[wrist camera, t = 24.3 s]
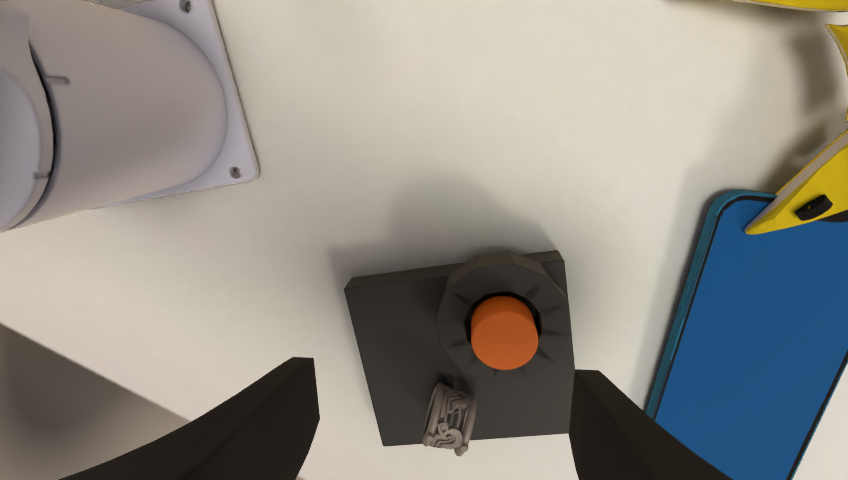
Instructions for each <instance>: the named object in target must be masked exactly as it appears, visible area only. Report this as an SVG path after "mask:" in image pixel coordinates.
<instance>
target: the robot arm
mask: <svg viewBox="0 0 848 480" xmlns="http://www.w3.org/2000/svg"><path fill="white" fill-rule="evenodd" d="M188 1H189V2H190V4H191V10H190V12H188V13H187V11H186V10H185V5H186V3H187V2H188ZM235 167H237V168H238V169H239V170H240V172H241V175H240V177H238V176H236V174H235V173H234V169H235ZM258 174H259V167H258V164H257V160H256V157H255V153H254V149H253V146H252V142H251V139H250V135H249V132H248V128H247V125H246V121H245V118H244V114H243V111H242V107H241V104H240V100H239V97H238V93H237V90H236V86H235V82H234V79H233V75H232V72H231V68H230V65H229V61H228V58H227V54H226V51H225V47H224V44H223V40H222V37H221V33H220V30H219V26H218V23H217V19H216V16H215V12H214V8H213V5H212V2H211V0H152V1H148V2H144V3H140V4H137V5H133V6H129V7H125V8H121V9H114V8H110V7H107V6H103V5H99V4H96V3H92V2H88V1H85V0H0V233H1V232H5V231H8V230H12V229H16V228H20V227H23V226H27V225H31V224H35V223H38V222H42V221H46V220H50V219H53V218H57V217H61V216H65V215H68V214H72V213H76V212H80V211H83V210H87V209H95V208H101V207H106V206H112V205H118V204H124V203H129V202H135V201H141V200H146V199H152V198H158V197H163V196H169V195H175V194H180V193H186V192H192V191H197V190H203V189H209V188H214V187H220V186H226V185H231V184H237V183H243V182H248V181H252V180H254V179H256V178H257V177H258ZM319 420H320V415H319V406H318V396H317V387H316V377H315V367H314V358H302V357H292V358H291V359H289V360H287V361H286V362H284V363H282V364H281V365H279V366H278V367H276V368H275V369H273V370H272V371H270V372H269V373H267V374H266V375H265V376H263V377H262V378H260V379H259V380H257V381H256V382H254V383H253V384H251V385H250V386H248V387H247V388H245V389H244V390H242V391H241V392H239V393H238V394H236V395H235V396H233V397H231V398H230V399H228V400H227V401H225V402H223V403H222V404H220V405H218V406H217V407H215V408H214V409H212V410H210V411H209V412H207V413H205V414H204V415H202V416H200V417H199V418H197V419H195V420H193V421H192V422H190V423H188V424H186V425H184V426H183V427H181V428H179V429H177V430H175V431H173V432H171V433H169V434H167V435H165V436H163V437H161V438H159V439H157V440H155V441H153V442H151V443H148V444H146V445H144V446H142V447H139V448H137V449H135V450H133V451H130V452H128V453H126V454H124V455H121V456H119V457H117V458H115V459H112V460H110V461H107V462H105V463H102V464H100V465H97V466H95V467H92V468H90V469H87V470H85V471H82V472H79V473H76V474H73V475H70V476H68V477H65V478H62V479H59V480H295V479H296V477H297V475H298V473H299V471H300V469H301V467H302V465H303V463H304V461H305V459H306V456H307V454H308V452H309V449H310V447H311V444H312V441H313V438H314V435H315V432H316V429H317V426H318V423H319ZM569 438H570V443H571V448H572V453H573V458H574V462H575V467H576V471H577V474H578V478H579V480H733V479H732V478H730V477H729V476H727V475H726V474H724V473H723V472H721V471H720V470H718V469H717V468H715V467H714V466H713V465H711V464H710V463H708V462H707V461H705V460H704V459H702V458H701V457H700V456H698V455H697V454H696V453H694V452H693V451H692V450H690V449H689V448H688V447H686V446H685V445H684V444H683V443H681V442H680V441H679V440H677V439H676V438H675V437H674V436H672V435H671V434H670V433H669V432H667V431H666V430H665V429H664V428H662V427H661V426H660V425H659V424H658V423H656V422H655V421H654V420H653V419H652V418H651V417H649V416H648V415H647V414H646V413H645V412H644V411H643V410H641V409H640V408H639V407H638V406H637V405H636V404H635V403H634V402H633V401H631V400H630V399H629V398H628V397H627V396H626V395H625V394H624V393H623V392H622V391H621V390H619V389H618V388H617V387H616V386H615V385H614V384H613V383H612V382H611V381H610V380H609V379H608V378H607V377H605V376H604V375H603V374H602V373H601V372H600V371H599V370H576V369H575V373H574V383H573V393H572V404H571V414H570V424H569Z"/></svg>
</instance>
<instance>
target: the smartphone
mask: <svg viewBox="0 0 848 480" xmlns="http://www.w3.org/2000/svg"><path fill="white" fill-rule="evenodd" d="M776 198H777V195H775V194H774V193H765V192H755V191H746V190H734V191H730V192H727V193H725V194H723V195H721V196H720V197H718V198H717V199H716V200H715V201H714V202H713V203H712V205H711V206H710V208H709V210H708V213H707V217H706V220H705V223H704V226H703V229H702V233H701V236H700V239H699V242H698V245H697V249H696V252H695V255H694V258H693V262H692V265H691V268H690V271H689V274H688V278H687V281H686V284H685V287H684V290H683V294H682V297H681V300H680V303H679V306H678V310H677V313H676V316H675V319H674V323H673V326H672V329H671V332H670V335H669V339H668V342H667V345H666V348H665V351H664V355H663V358H662V361H661V364H660V367H659V371H658V374H657V377H656V380H655V384H654V387H653V390H652V393H651V396H650V400H649V403H648V406H647V409H646V412H645V413H646V414H647V415H648V416H649V417H651V418H652V419H653V420H654V421H655V422H656V423H658V424H659V425H660V426H661V427H662V428H664V429H665V430H666V431H667V432H669V433H670V434H671V435H672V436H674V437H675V438H676V439H677V440H679V441H680V442H681V443H683V444H684V445H685V446H686V447H688V448H689V449H690V450H692V451H693V452H694V453H696V454H697V455H698V456H700V457H701V458H702V459H704V460H705V461H707V462H708V463H710V464H711V465H713V466H714V467H715V468H717V469H718V470H720V471H721V472H723V473H724V474H726V475H727V476H729V477H730V478H732V479H733V480H792V479H793V477H794V475H795V473H796V471H797V468H798V466H799V464H800V462H801V460H802V458H803V456H804V454H805V452H806V449H807V447H808V445H809V443H810V441H811V439H812V437H813V435H814V433H815V430H816V428H817V426H818V424H819V422H820V420H821V418H822V416H823V414H824V411H825V409H826V407H827V405H828V403H829V401H830V399H831V397H832V395H833V392H834V390H835V388H836V386H837V384H838V382H839V380H840V378H841V376H842V374H843V371H844V369H845V367H846V365H847V363H848V210H845V211H842V212H839V213H836V214H833V215H830V216H827V217H824V218H821V219H818V220H815V221H812V222H809V223H805V224H801V225H797V226H793V227H789V228H785V229H781V230H776V231H771V232H766V233H762V234H754V235H751V234H746V233H745V231H744V229H745V228H746V227H747V226H748V225H749V224H750V223H751V222H752V221H753V220H754V219H755V218H756V217H757V216H758V215H759V214H760V213H761V212H762V211H763V210H764V209H765V208H766V207H767V206H768V205H769V204H771V203H772V202H773V201H774V200H775V199H776Z"/></svg>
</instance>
